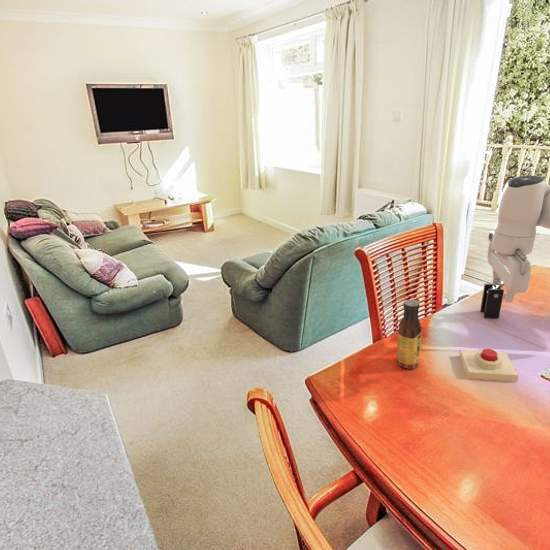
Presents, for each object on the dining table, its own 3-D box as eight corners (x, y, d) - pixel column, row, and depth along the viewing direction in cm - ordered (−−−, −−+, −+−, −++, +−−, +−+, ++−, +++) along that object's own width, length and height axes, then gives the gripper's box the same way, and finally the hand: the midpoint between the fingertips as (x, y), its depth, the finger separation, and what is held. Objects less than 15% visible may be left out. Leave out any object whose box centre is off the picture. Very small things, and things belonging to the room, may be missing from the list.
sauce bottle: (420, 371, 105) (426, 309, 97) (397, 370, 107) (401, 309, 99) (417, 356, 111) (422, 297, 103) (395, 356, 113) (398, 297, 104)
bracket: (503, 311, 130) (509, 281, 125) (513, 325, 122) (519, 293, 117) (466, 310, 133) (470, 280, 128) (472, 324, 125) (477, 292, 120)
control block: (504, 358, 107) (507, 347, 106) (517, 381, 98) (520, 369, 97) (459, 356, 110) (461, 344, 108) (467, 378, 101) (469, 366, 100)
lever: (520, 267, 121) (515, 263, 120) (526, 274, 116) (520, 269, 116) (490, 293, 126) (484, 289, 126) (495, 300, 122) (489, 296, 122)
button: (494, 354, 104) (495, 349, 103) (498, 362, 101) (499, 356, 100) (479, 353, 105) (480, 348, 104) (483, 361, 102) (484, 356, 101)
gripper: (543, 258, 83) (530, 312, 89) (512, 231, 102) (502, 277, 107) (512, 258, 85) (500, 311, 91) (487, 230, 103) (478, 276, 109)
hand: (501, 292), depth 99 cm, fingers open, 8 cm apart
